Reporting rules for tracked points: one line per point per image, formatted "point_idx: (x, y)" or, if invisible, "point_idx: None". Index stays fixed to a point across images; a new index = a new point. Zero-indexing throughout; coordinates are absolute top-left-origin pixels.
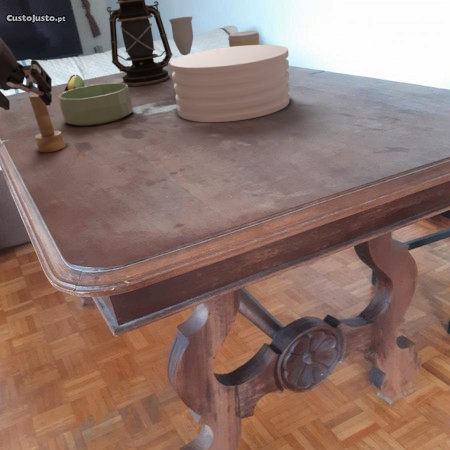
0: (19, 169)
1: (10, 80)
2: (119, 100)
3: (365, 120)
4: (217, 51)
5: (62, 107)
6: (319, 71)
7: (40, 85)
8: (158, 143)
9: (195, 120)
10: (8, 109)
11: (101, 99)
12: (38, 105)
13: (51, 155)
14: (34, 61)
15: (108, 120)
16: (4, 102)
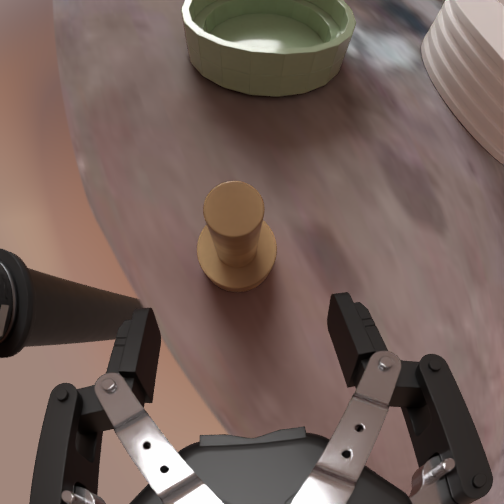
0: (216, 414)
1: None
2: (347, 47)
3: None
4: (493, 8)
5: (200, 51)
6: None
7: (410, 437)
8: (483, 276)
9: (489, 152)
10: (160, 341)
11: (322, 54)
12: (245, 244)
13: (262, 320)
14: (484, 493)
15: (316, 87)
16: (152, 356)
